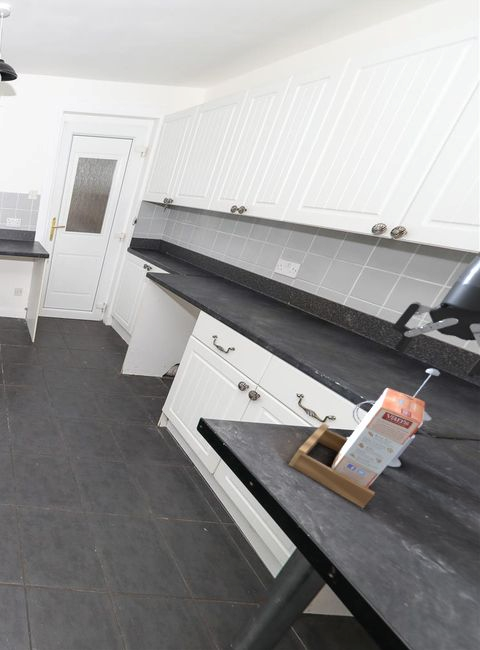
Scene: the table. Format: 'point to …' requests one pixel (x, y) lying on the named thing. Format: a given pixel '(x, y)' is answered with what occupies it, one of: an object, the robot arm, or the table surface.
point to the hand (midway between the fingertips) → (433, 363)
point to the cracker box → (379, 437)
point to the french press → (395, 460)
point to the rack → (325, 473)
